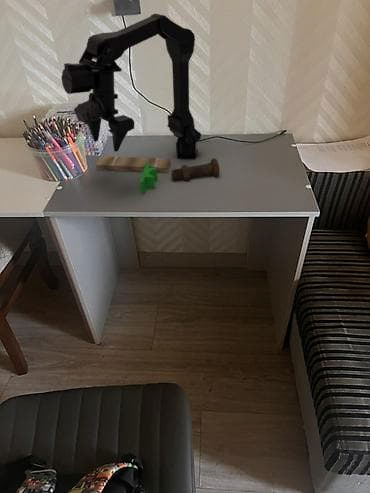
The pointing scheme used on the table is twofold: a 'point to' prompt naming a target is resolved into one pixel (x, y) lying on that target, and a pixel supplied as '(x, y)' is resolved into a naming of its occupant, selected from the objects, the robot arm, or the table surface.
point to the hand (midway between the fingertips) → (105, 146)
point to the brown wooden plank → (132, 164)
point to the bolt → (196, 170)
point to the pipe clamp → (148, 178)
